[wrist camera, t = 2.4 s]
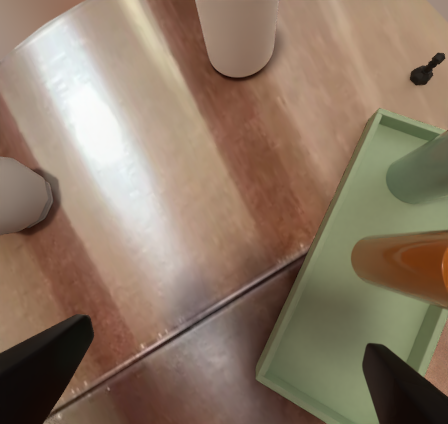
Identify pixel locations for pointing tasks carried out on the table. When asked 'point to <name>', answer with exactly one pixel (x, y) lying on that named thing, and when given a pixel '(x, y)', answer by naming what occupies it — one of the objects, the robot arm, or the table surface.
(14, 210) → the potion bottle
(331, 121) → the table surface
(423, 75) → the chess pawn
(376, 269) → the amber bottle
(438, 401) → the robot arm
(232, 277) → the table surface
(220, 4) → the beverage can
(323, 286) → the tray
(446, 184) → the celadon bottle
